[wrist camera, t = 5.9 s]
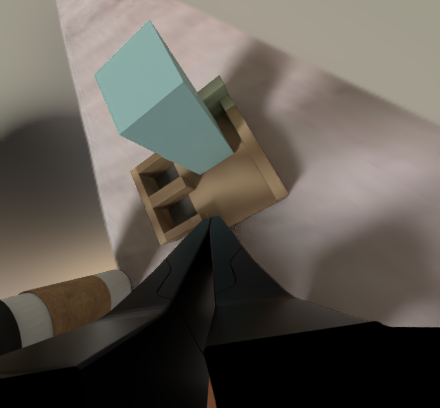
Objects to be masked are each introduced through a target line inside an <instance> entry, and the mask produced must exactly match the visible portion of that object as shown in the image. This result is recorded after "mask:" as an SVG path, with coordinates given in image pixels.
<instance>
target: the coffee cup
mask: <svg viewBox="0 0 440 408" xmlns="http://www.w3.org/2000/svg"><path fill="white" fill-rule="evenodd" d="M130 293H131V284H130V281H129V279H128V277H127V276H126V275H125V274H124V273H123V272H122V271H120V270H111V271H106V272H103V273H99V274H95V275H91V276H86V277H82V278H78V279H74V280H70V281H65V282H61V283H57V284H53V285H49V286H44V287H40V288H36V289H32V290H28V291H24V292H22V293H20V294H18V295H16V296H12V297H8V298H5V299H1V300H0V356H1V355H4V354H7V353H10V352H13V351H15V350H18V349H21V348H24V347H26V346H29V345H32V344H35V343H37V342H40V341H43V340H46V339H48V338H51V337H54V336H57V335H59V334H62V333H65V332H68V331H70V330H73V329H76V328H79V327H81V326H84V325H87V324H89V323H92V322H94V321H96V320H98V319H99V318H101V317H102V316H104V315H105V314H107V313H108V312H109V311H111V310H112V309H113V308H114V307H115V306H116V305H117V304H119V303H120V302H121V301H122V300H123V299H124V298H125V297H126V296H127V295H128V294H130Z"/></svg>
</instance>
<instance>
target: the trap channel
mask: <svg viewBox="0 0 440 408" xmlns="http://www.w3.org/2000/svg"><path fill="white" fill-rule="evenodd" d="M197 93H198V94H199V96H200V97H201V99H202V100H203V102H204V103H205V105H206V106H207V108H208V110H209V111H210V113H211V114H212V116H213V117H214V119H215V120H216V122H217V124H218V125H219V127H220V129H221V131H222V133H223V134H224V136H225V138H226V140H227V142H228V143H229V145H230V147H231V149H232V151H233V152H234V154H232V155H231V156H229V157H228V158H226V159H225V160H223V161H222V162H220V163H218V164H217V165H215V166H214V167H212V168H211V169H209V170H207V171H206V172H204V173H203V174H201V175H199V174H197V173H195V172H193V171H191V170H189V169H187V168H185V167H183V166H181V165H179V164H177V163H175V162H173V161H171V160H169V159H167V158H165V157H163V156H161V155H159V154H157V153H154V154H153V155H152V156H150V157H149V158H148V159H146V160H145V161H144V162H142V163H141V164H139V165H138V166H137V167H135V168H134V169H133V170H131V171H130V173H131V175H132V177H133V180H134V182H135V185H136V187H137V190H138V192H139V194H140V197H141V199H142V202H143V204H144V207H145V209H146V211H147V214H148V216H149V219H150V221H151V224H152V226H153V228H154V231H155V233H156V236H157V238H158V241H159V243H160V245H163V244H166V243H170V242H174V241H177V240H179V239H180V238H182V237H184V236H186V235H188V234H189V233H190V232H191V231H192V230H193V229H194V228H195V227H196V226H197V225H198V224H199V223H200V221H201V220H202V219H203V218H205V217H212V216H217V215H220V216H221V218H222V219H223V220H224V222H225V223H226V224H227V226H228V227H231V226H233V225H235V224H237V223H239V222H241V221H243V220H244V219H246V218H248V217H250V216H252V215H254V214H256V213H258V212H260V211H262V210H264V209H265V208H267V207H269V206H271V205H273V204H275V203H277V202H279V201H281V200H283V199H285V198H287V196H288V195H289V194H288V192H287V190H286V189H285V187H284V185H283V184H282V182H281V180H280V179H279V177H278V175H277V174H276V172H275V170H274V169H273V167H272V165H271V164H270V162H269V160H268V159H267V157H266V155H265V154H264V152H263V150H262V149H261V147H260V145H259V144H258V142H257V140H256V139H255V137H254V135H253V134H252V132H251V130H250V129H249V127H248V125H247V124H246V122H245V120H244V119H243V117H242V115H241V114H240V112H239V110H238V109H237V107H236V105H235V104H234V102H233V100H232V99H231V97H230V95H229V94H228V91H227V89H226V86H225V84H224V82H223V81H222V79H221V77H220V76H218V77H216V78H215V79H214V80H213V81H211V82H210V83H209V84H207V85H206V86H205V87H204V88H202V89H201V90H200V91H199V92H197Z"/></svg>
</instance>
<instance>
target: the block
mask: <svg viewBox="0 0 440 408" xmlns="http://www.w3.org/2000/svg"><path fill="white" fill-rule="evenodd" d="M95 78H96V80H97V83H98V85H99V87H100V90H101V92H102V95H103V97H104V99H105V102H106V104H107V107H108V109H109V111H110V114H111V116H112V119H113V121H114V123H115V126H116V128H117V131H118V133H119V135H121V136H123V137H125V138H127V139H129V140H131V141H133V142H135V143H137V144H139V145H141V146H143V147H145V148H147V149H149V150H151V151H153V152H155V153H157V154H159V155H161V156H163V157H165V158H167V159H169V160H171V161H173V162H175V163H177V164H179V165H181V166H183V167H185V168H187V169H189V170H191V171H193V172H195V173H197V174H199V175H201V174H203V173H204V172H206V171H207V170H209V169H211V168H212V167H214V166H215V165H217V164H218V163H220V162H222V161H223V160H225V159H226V158H228V157H229V156H231V155H232V154H234V152H233V151H232V149H231V147H230V145H229V143H228V142H227V140H226V138H225V136H224V134H223V133H222V131H221V129H220V127H219V125H218V124H217V122H216V120H215V119H214V117H213V116H212V114H211V113H210V111H209V110H208V108H207V106H206V105H205V103H204V102H203V100H202V99H201V97H200V96H199V94H198V93H197V91H196V90H195V88H194V87H193V85H192V84H191V82H190V80H189V79H188V77H187V76H186V74H185V73H184V71H183V70H182V68H181V67H180V65H179V64H178V62H177V61H176V59H175V58H174V56H173V54H172V53H171V51H170V50H169V48H168V47H167V45H166V44H165V42H164V41H163V39H162V38H161V36H160V35H159V33H158V32H157V30H156V28H155V27H154V25H153V24H152V22H151V21H150V20H149V21H148V22H147V23H146V24H145V25H144V26H143V27H142V28H141V29H140V30H139V31H138V32H137V33H136V34H135V35H134V36H133V37H132V38H131V39H130V40H129V41H128V42H127V43H126V44H125V45H124V46H123V47H122V48H121V49H120V50H119V51H118V52H117V53H116V54H115V55H114V56H113V57H112V58H111V59H110V60H109V61H108V62H107V63H106V64H105V65H104V66H103V67H102V68H101V69H100V70H99V71H98V72H97V73H96V74H95Z"/></svg>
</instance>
